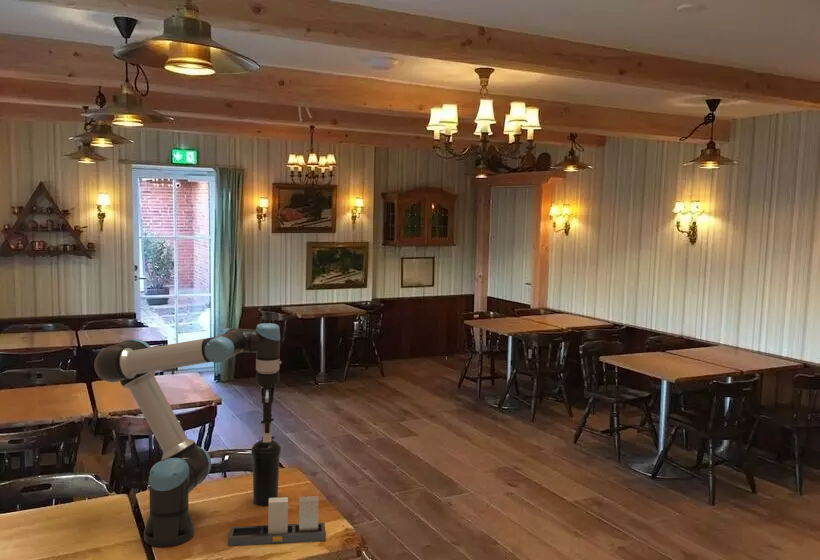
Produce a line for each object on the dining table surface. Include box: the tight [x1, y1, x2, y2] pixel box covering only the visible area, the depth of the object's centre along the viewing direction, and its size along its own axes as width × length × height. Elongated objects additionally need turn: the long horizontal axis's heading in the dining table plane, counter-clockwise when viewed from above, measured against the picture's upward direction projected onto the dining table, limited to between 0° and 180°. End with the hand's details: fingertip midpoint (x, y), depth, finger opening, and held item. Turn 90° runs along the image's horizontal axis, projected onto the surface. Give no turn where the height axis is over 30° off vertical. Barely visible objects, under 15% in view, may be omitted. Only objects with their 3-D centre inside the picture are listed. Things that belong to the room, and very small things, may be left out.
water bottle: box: [251, 436, 282, 507], centre depth 239 cm, size 10×10×23 cm
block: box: [267, 496, 289, 534], centre depth 213 cm, size 6×4×12 cm, turn 100°
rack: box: [227, 495, 327, 547], centre depth 213 cm, size 30×8×13 cm, turn 100°
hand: (267, 441), depth 220 cm, fingers closed
